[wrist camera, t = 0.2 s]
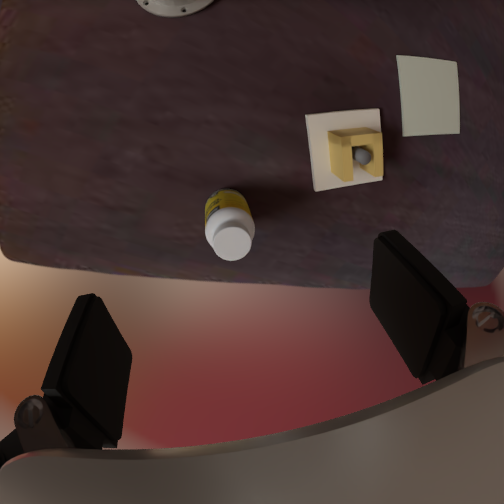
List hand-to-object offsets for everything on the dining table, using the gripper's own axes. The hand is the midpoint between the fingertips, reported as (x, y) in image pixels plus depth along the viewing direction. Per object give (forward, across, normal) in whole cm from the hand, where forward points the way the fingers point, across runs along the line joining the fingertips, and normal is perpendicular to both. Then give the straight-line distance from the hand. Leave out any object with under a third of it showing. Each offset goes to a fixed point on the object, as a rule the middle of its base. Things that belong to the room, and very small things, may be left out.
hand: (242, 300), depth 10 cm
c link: (+35, -20, +5) cm, 41 cm away
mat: (+36, -37, -3) cm, 52 cm away
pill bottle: (+37, 0, +12) cm, 38 cm away
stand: (+36, -20, +5) cm, 42 cm away
